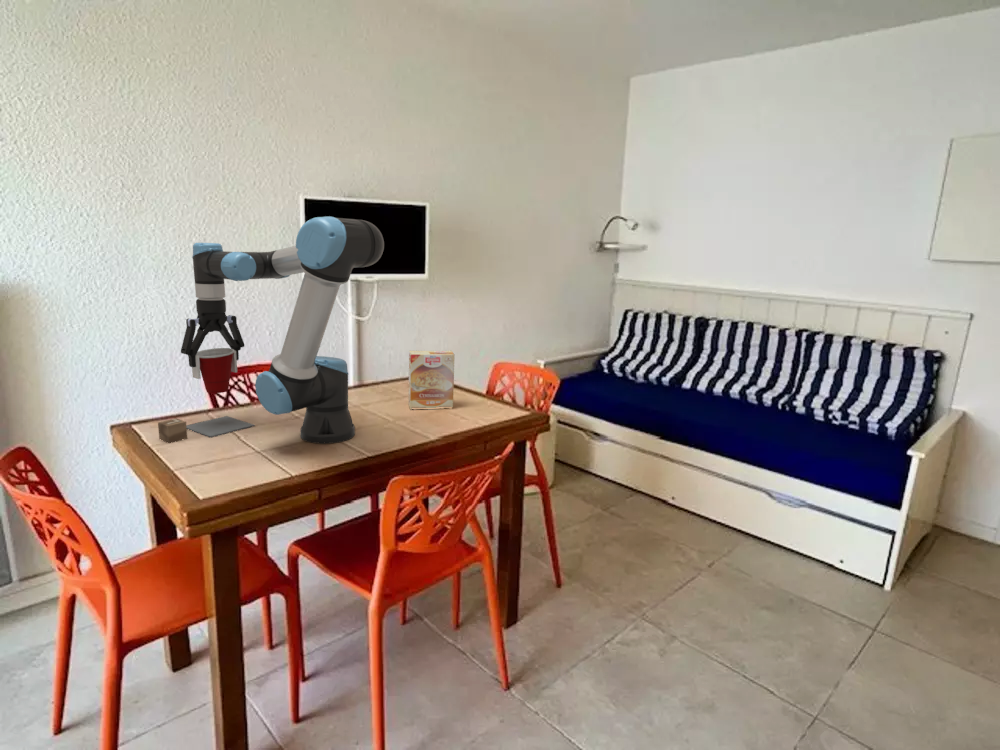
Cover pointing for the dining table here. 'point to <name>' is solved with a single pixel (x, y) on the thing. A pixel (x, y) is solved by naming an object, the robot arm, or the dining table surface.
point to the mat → (218, 426)
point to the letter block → (172, 430)
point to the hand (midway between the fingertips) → (215, 374)
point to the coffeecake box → (431, 379)
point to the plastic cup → (216, 368)
